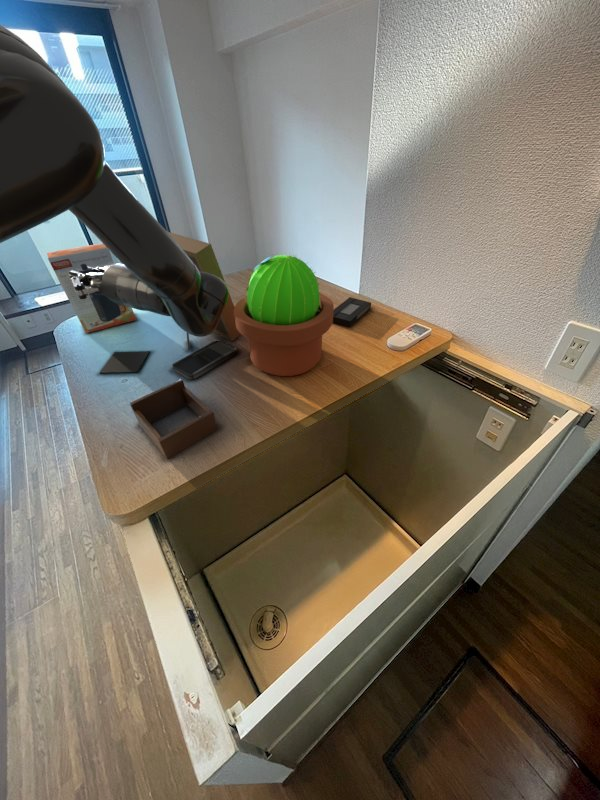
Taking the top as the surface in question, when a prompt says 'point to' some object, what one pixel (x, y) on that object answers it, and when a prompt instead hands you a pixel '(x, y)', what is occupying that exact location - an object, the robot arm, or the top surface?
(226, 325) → the photo frame
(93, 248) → the cracker box
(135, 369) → the coaster
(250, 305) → the potted cactus
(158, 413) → the wooden tray
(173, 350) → the top surface
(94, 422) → the top surface
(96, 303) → the vaping device
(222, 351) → the phone
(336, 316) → the vhs tape
